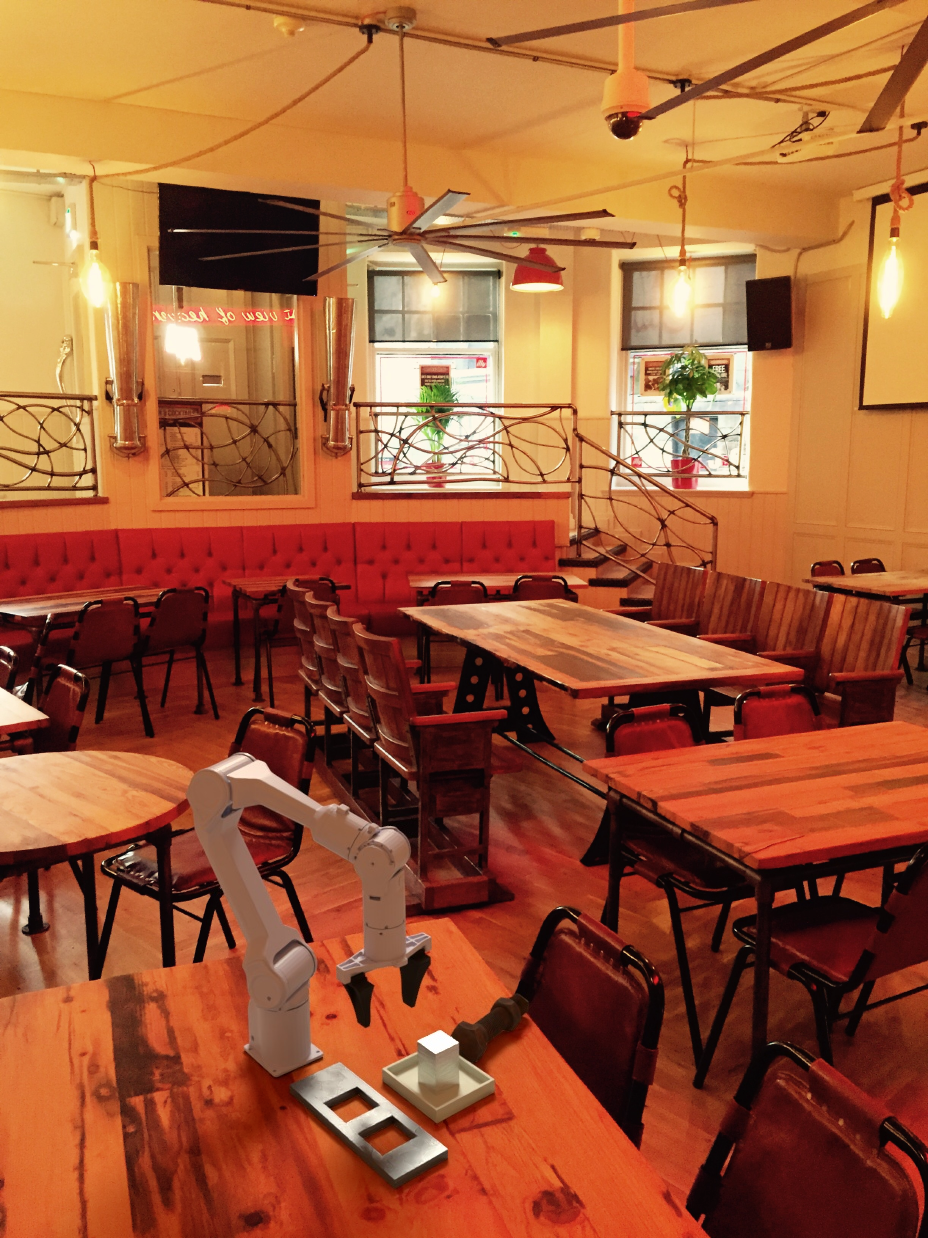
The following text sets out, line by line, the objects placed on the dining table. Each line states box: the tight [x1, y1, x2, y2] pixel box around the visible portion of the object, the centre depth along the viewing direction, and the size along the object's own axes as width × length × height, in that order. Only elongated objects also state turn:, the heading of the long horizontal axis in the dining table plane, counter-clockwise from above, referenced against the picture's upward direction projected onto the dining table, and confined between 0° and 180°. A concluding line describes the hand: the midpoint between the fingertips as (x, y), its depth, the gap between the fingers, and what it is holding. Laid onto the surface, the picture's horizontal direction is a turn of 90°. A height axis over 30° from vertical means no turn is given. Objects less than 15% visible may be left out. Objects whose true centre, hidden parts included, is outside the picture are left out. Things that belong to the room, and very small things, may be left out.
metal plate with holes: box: [289, 1061, 449, 1190], centre depth 125 cm, size 24×8×1 cm, turn 40°
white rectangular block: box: [416, 1030, 459, 1096], centre depth 132 cm, size 4×4×6 cm
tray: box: [381, 1051, 496, 1124], centre depth 133 cm, size 12×10×2 cm
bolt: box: [449, 993, 530, 1064], centre depth 144 cm, size 6×5×15 cm
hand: (386, 1014), depth 134 cm, fingers open, 7 cm apart
